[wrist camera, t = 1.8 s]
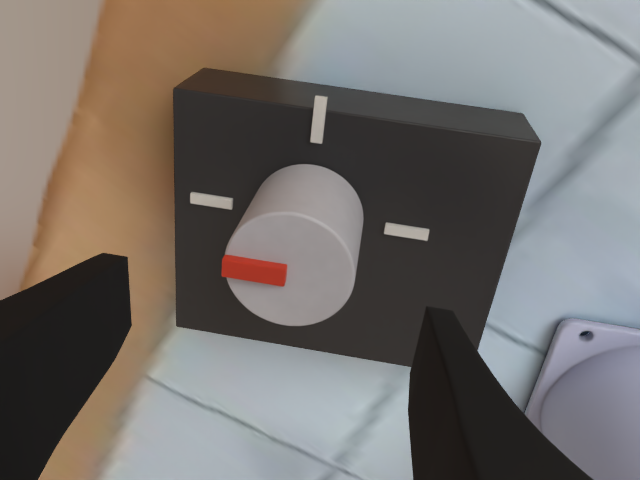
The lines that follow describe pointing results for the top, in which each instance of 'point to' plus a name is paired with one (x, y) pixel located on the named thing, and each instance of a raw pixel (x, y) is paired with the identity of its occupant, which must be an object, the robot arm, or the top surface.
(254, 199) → the dial
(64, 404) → the robot arm
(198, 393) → the top surface
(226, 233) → the control panel
